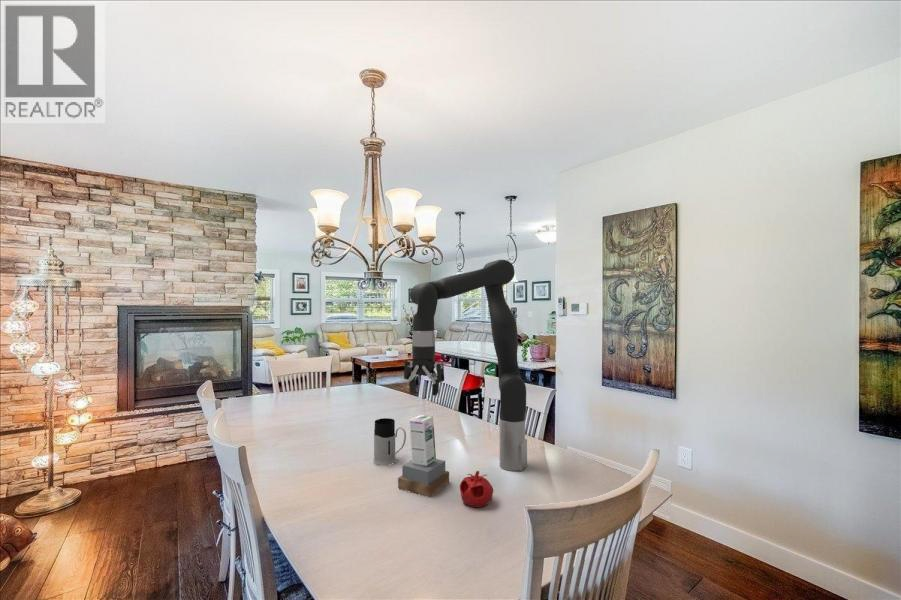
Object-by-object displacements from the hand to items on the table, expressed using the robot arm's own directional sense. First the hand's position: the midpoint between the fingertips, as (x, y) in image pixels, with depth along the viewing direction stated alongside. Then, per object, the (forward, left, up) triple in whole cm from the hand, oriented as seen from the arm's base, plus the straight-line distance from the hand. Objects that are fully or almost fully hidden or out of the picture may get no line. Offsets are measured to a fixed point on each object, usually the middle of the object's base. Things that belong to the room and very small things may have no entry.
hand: (423, 393), depth 131 cm
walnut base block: (0, +1, -30) cm, 30 cm away
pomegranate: (-20, +2, -30) cm, 36 cm away
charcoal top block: (-1, +1, -26) cm, 26 cm away
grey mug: (+21, -9, -30) cm, 38 cm away
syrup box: (0, +1, -22) cm, 22 cm away
